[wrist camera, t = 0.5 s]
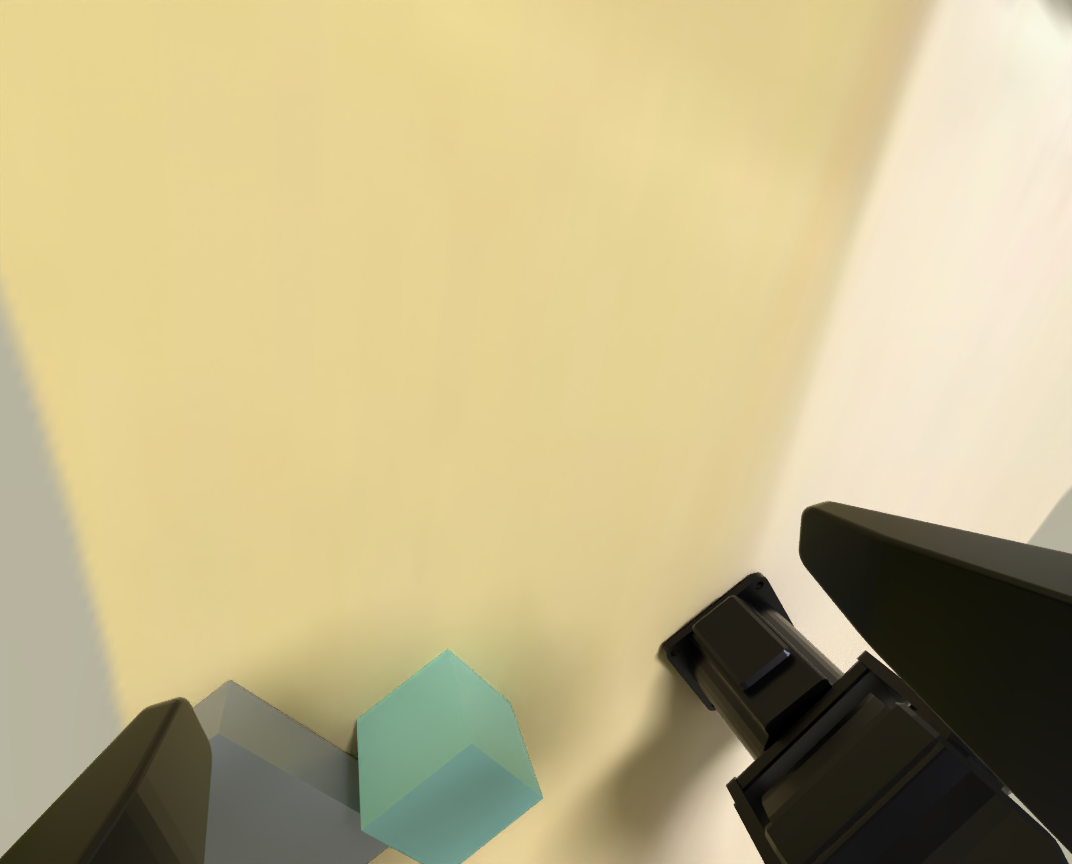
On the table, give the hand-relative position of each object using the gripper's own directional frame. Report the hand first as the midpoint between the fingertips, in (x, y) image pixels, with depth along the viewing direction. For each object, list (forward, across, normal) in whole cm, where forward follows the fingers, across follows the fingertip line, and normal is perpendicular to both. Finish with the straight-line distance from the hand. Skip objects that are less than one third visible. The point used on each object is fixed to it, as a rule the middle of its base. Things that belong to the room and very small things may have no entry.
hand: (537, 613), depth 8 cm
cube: (+14, +2, +16) cm, 21 cm away
